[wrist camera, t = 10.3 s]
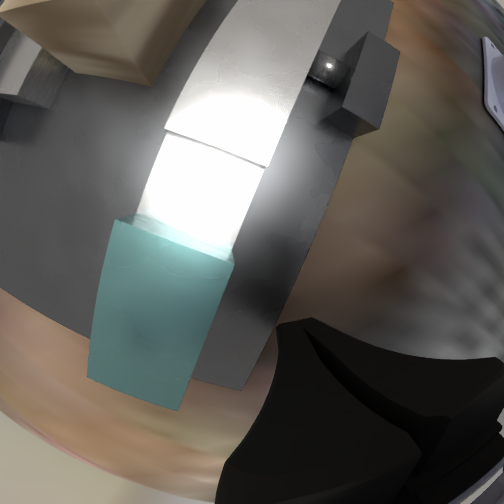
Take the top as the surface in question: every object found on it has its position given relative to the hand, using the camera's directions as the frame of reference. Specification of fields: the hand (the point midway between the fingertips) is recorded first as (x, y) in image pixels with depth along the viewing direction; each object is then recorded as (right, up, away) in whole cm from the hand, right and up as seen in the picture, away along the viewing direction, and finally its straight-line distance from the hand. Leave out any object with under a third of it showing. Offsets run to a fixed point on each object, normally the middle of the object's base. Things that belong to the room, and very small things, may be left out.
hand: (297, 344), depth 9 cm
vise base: (-7, +10, -1) cm, 12 cm away
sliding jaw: (-2, +8, 0) cm, 8 cm away
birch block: (-6, +13, -2) cm, 15 cm away
